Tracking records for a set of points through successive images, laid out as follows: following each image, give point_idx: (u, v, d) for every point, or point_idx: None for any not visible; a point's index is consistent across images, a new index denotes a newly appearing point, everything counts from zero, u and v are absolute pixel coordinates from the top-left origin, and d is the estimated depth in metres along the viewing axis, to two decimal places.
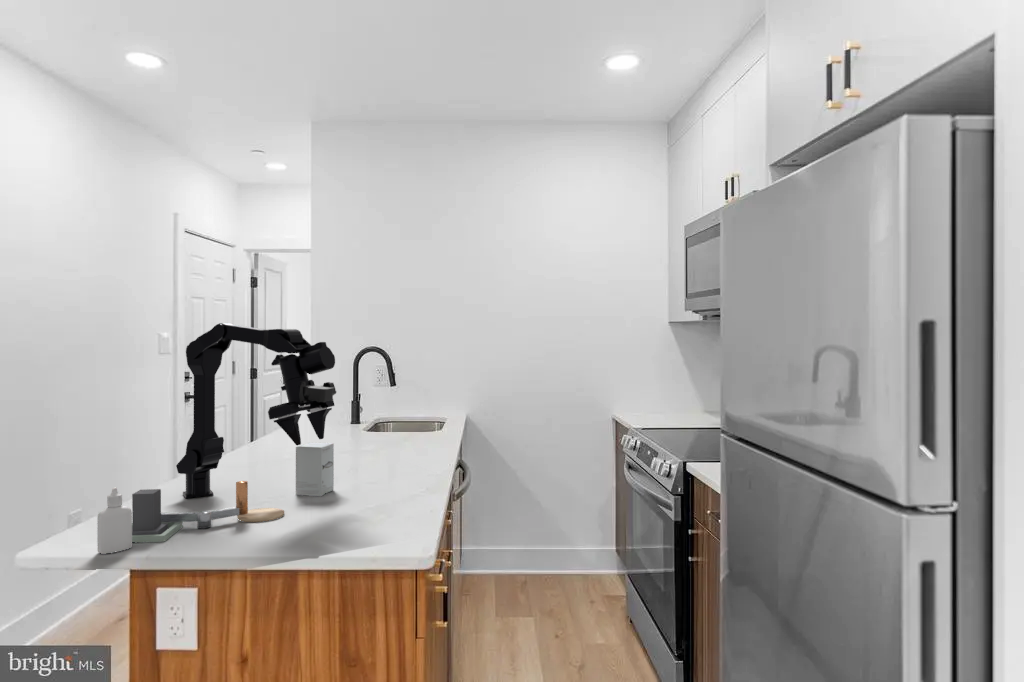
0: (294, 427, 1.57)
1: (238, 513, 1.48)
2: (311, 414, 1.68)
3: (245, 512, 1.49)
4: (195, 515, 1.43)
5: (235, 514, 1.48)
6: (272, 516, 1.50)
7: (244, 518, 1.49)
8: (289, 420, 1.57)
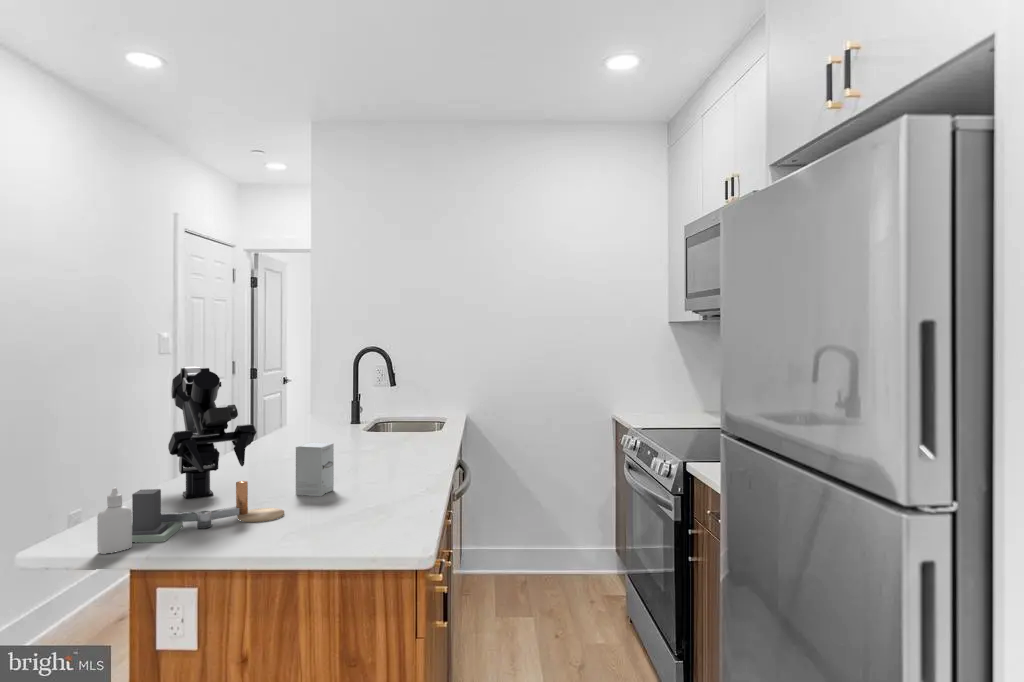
0: (192, 454, 1.53)
1: (238, 513, 1.48)
2: (235, 446, 1.63)
3: (245, 512, 1.49)
4: (195, 515, 1.43)
5: (235, 514, 1.48)
6: (272, 516, 1.50)
7: (244, 518, 1.49)
8: (190, 450, 1.55)
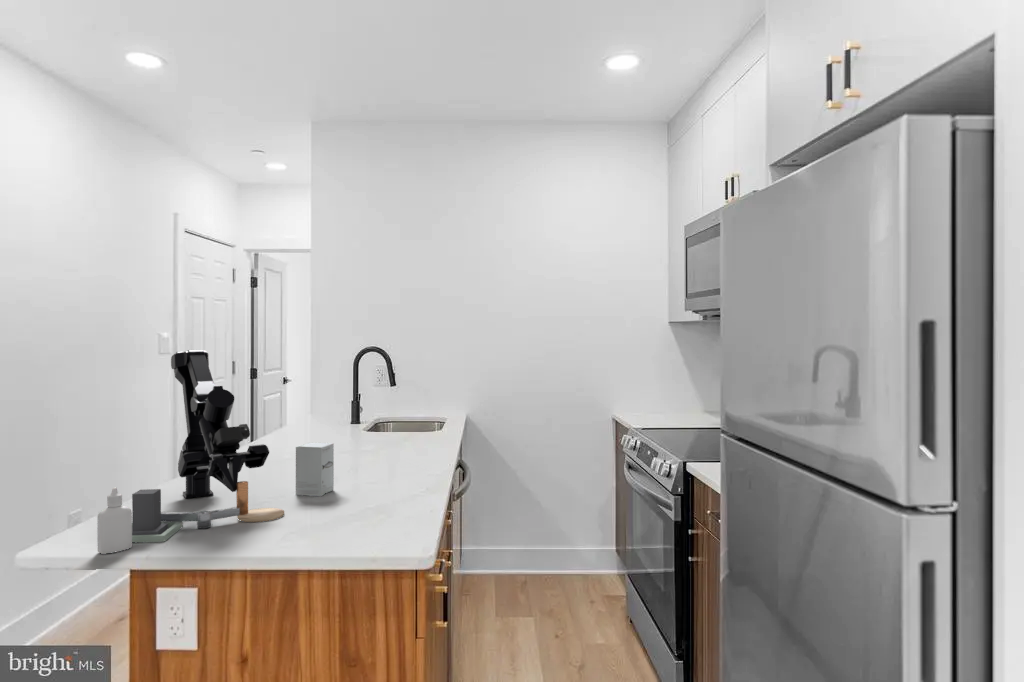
0: (223, 473, 1.50)
1: (238, 513, 1.48)
2: None
3: (245, 512, 1.49)
4: (195, 515, 1.43)
5: (235, 514, 1.48)
6: (272, 516, 1.50)
7: (244, 518, 1.49)
8: None
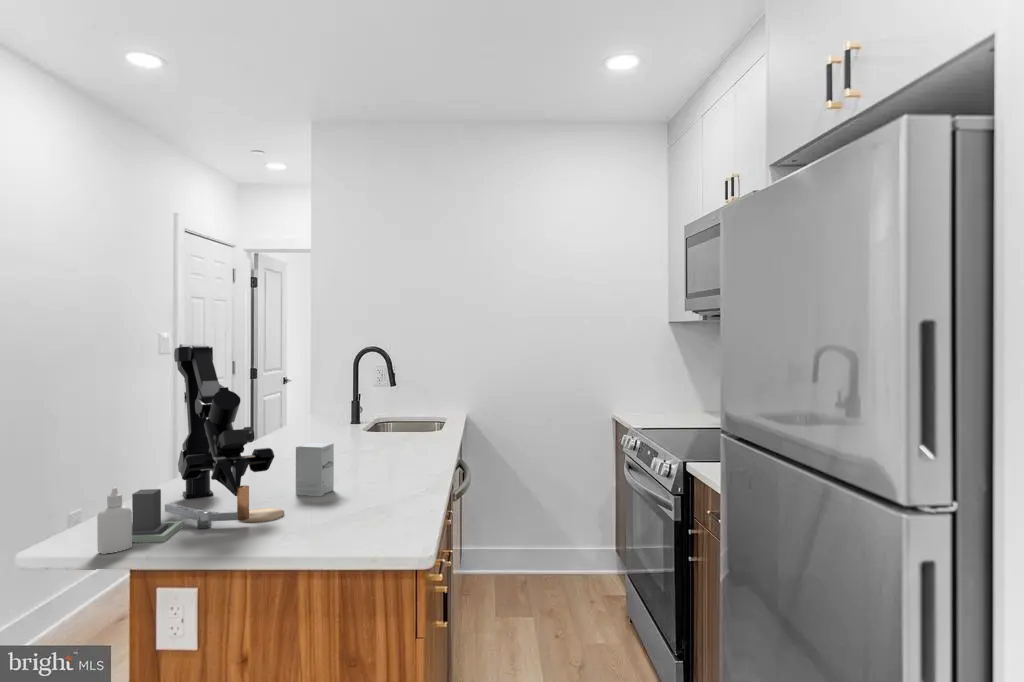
0: (227, 477, 1.46)
1: (236, 518, 1.44)
2: (231, 474, 1.50)
3: (243, 518, 1.44)
4: (196, 514, 1.44)
5: (233, 519, 1.44)
6: (272, 516, 1.50)
7: None
8: None
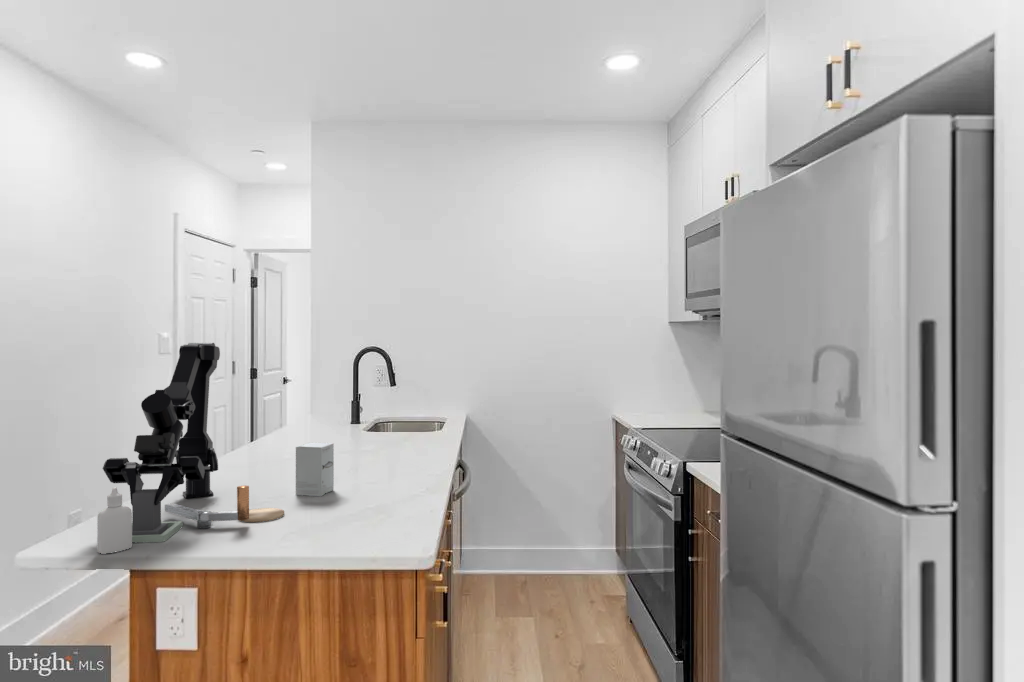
0: None
1: (236, 518, 1.44)
2: None
3: (243, 518, 1.44)
4: (196, 514, 1.44)
5: (233, 519, 1.44)
6: (272, 516, 1.50)
7: None
8: None
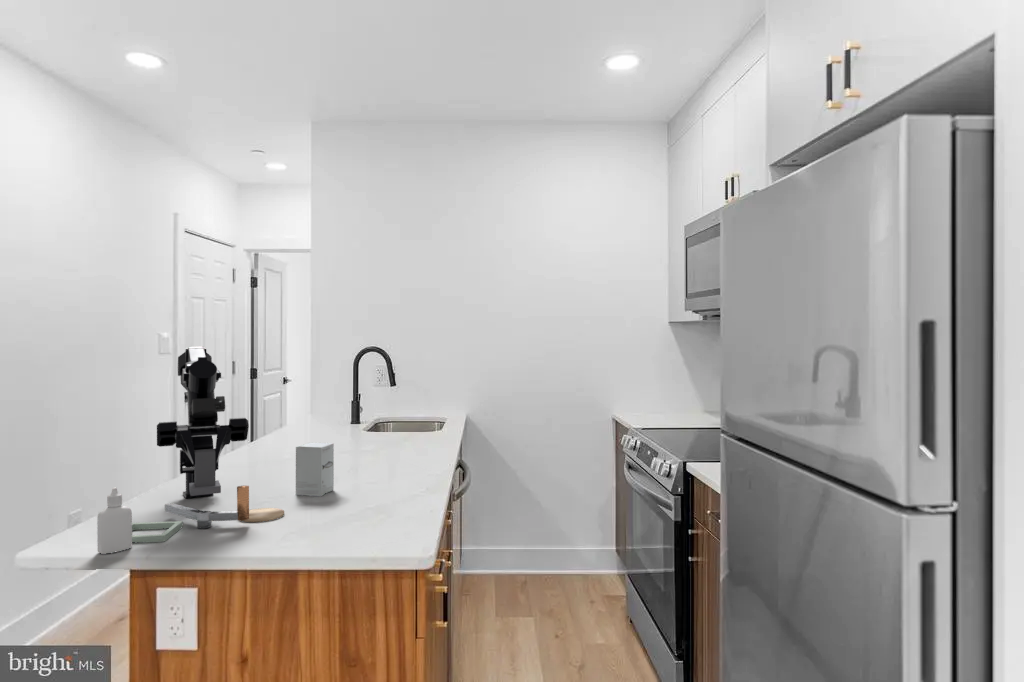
0: (186, 445, 1.48)
1: (236, 518, 1.44)
2: None
3: (243, 518, 1.44)
4: (196, 514, 1.44)
5: (233, 519, 1.44)
6: (272, 516, 1.50)
7: None
8: None
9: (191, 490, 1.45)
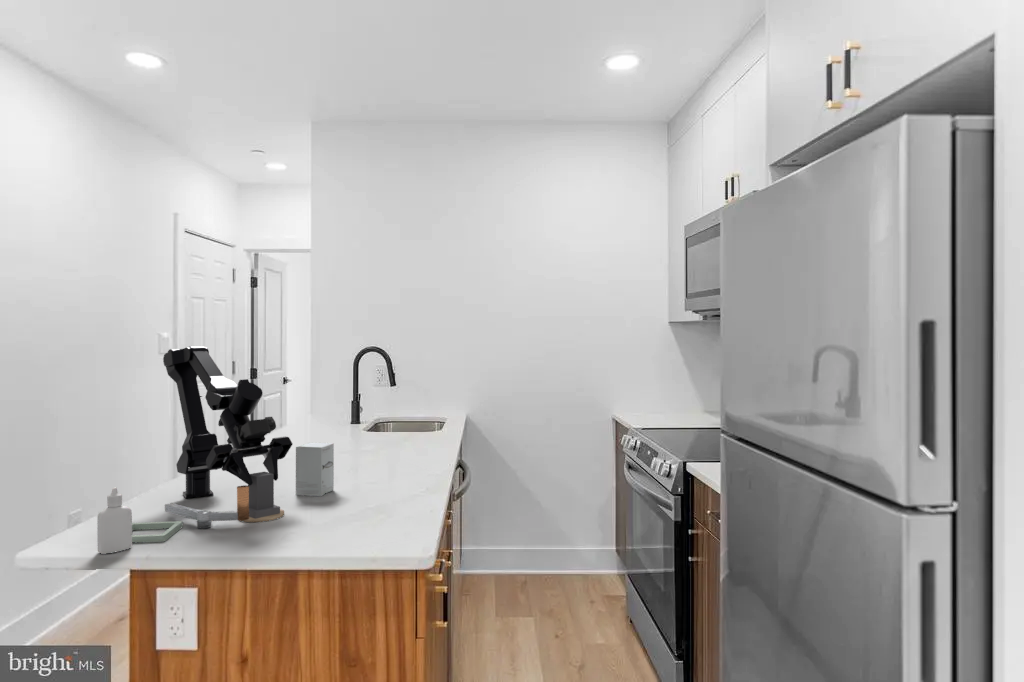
0: (239, 467, 1.50)
1: (236, 518, 1.44)
2: (265, 460, 1.58)
3: (243, 518, 1.44)
4: (196, 514, 1.44)
5: (233, 519, 1.44)
6: (272, 516, 1.50)
7: None
8: (236, 463, 1.51)
9: (256, 513, 1.49)
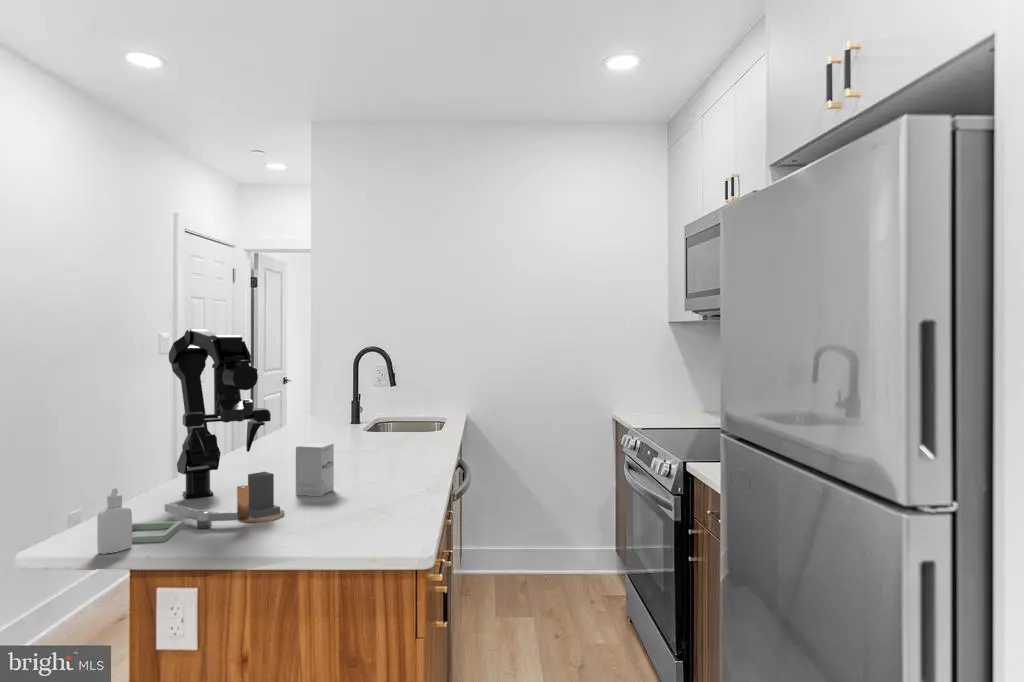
0: None
1: (236, 518, 1.44)
2: (248, 423, 1.64)
3: (243, 518, 1.44)
4: (196, 514, 1.44)
5: (233, 519, 1.44)
6: (272, 516, 1.50)
7: None
8: None
9: (256, 513, 1.49)
